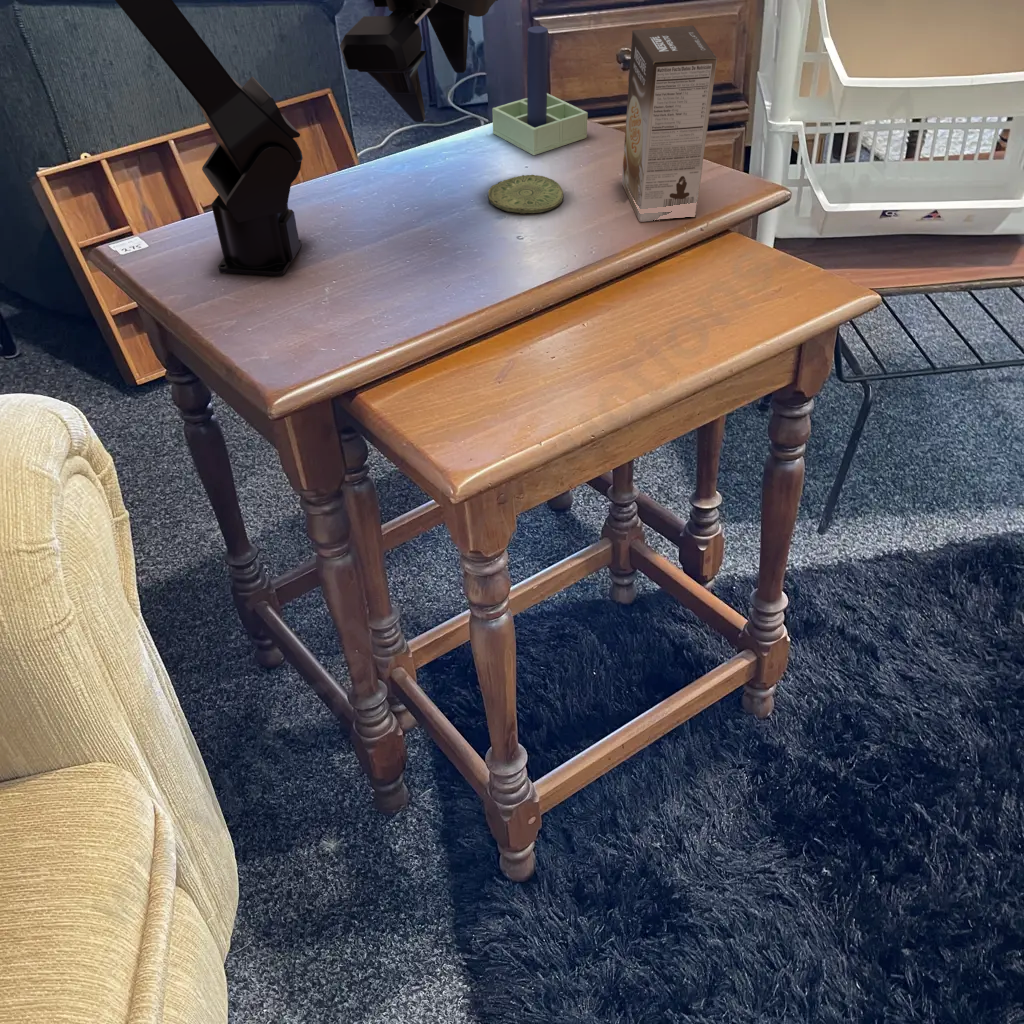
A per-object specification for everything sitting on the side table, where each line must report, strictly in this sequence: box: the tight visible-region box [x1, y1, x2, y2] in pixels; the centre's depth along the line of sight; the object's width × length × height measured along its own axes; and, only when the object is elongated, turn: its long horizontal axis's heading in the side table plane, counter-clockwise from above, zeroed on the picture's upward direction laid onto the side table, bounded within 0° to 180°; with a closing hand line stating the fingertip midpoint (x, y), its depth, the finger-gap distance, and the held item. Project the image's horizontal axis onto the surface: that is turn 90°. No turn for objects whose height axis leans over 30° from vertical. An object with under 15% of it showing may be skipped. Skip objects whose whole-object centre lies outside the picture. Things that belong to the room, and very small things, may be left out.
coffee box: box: [621, 25, 718, 223], centre depth 99 cm, size 9×6×16 cm
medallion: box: [487, 174, 564, 215], centre depth 105 cm, size 8×8×1 cm
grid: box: [491, 92, 589, 156], centre depth 116 cm, size 8×8×3 cm
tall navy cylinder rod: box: [526, 25, 549, 128], centre depth 110 cm, size 2×2×12 cm
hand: (440, 96), depth 95 cm, fingers open, 9 cm apart
